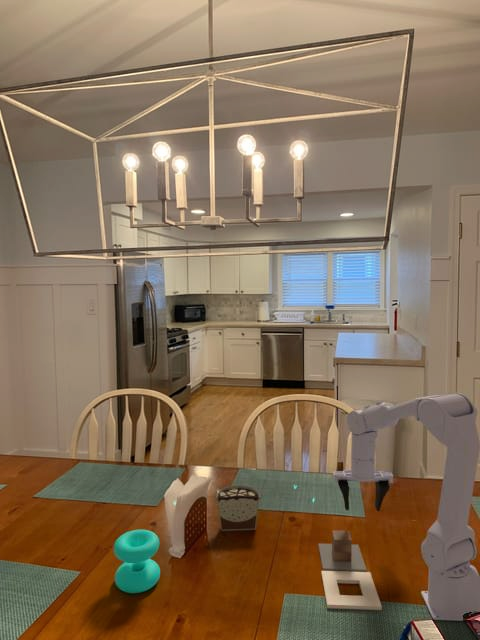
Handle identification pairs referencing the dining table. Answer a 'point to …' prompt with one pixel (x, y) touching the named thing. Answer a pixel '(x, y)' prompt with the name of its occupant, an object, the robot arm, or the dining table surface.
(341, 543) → the block
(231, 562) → the dining table surface
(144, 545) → the turquoise spool
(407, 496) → the dining table surface
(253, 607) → the dining table surface
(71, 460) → the dining table surface
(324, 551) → the mat
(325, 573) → the pocket plate
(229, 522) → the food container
